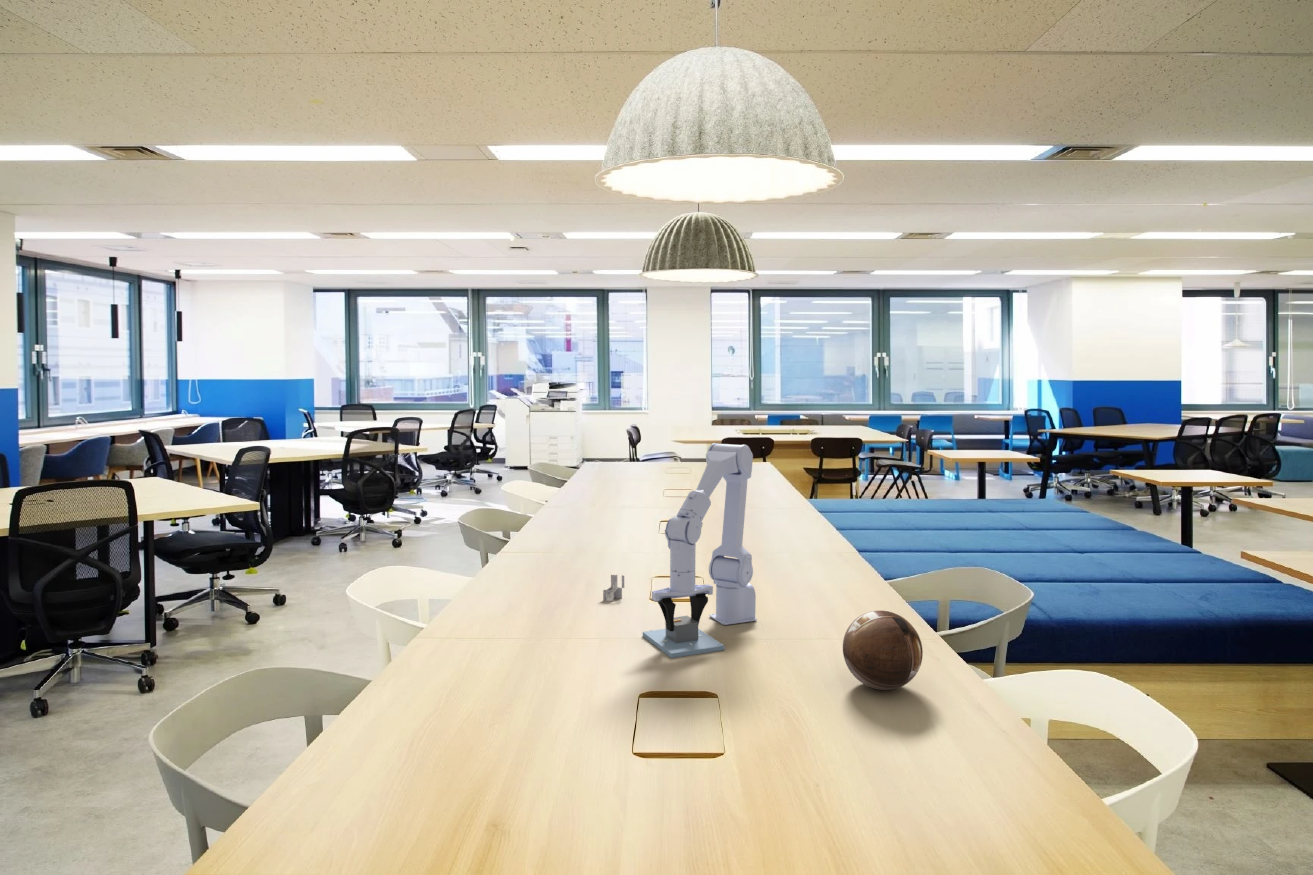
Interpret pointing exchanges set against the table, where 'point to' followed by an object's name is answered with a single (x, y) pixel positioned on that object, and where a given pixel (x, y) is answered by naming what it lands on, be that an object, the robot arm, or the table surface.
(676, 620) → the grey drawer cabinet
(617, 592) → the architectural model
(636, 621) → the table surface
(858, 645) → the wooden sphere
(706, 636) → the plate
